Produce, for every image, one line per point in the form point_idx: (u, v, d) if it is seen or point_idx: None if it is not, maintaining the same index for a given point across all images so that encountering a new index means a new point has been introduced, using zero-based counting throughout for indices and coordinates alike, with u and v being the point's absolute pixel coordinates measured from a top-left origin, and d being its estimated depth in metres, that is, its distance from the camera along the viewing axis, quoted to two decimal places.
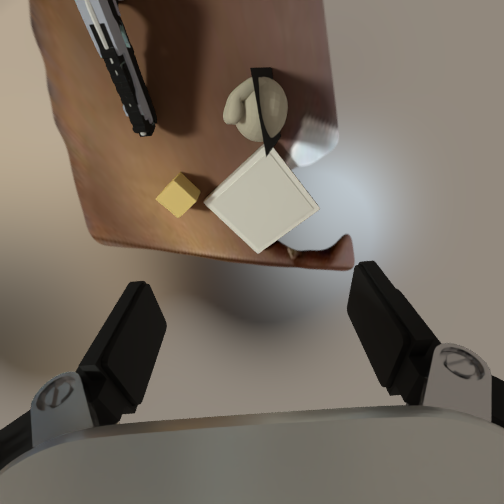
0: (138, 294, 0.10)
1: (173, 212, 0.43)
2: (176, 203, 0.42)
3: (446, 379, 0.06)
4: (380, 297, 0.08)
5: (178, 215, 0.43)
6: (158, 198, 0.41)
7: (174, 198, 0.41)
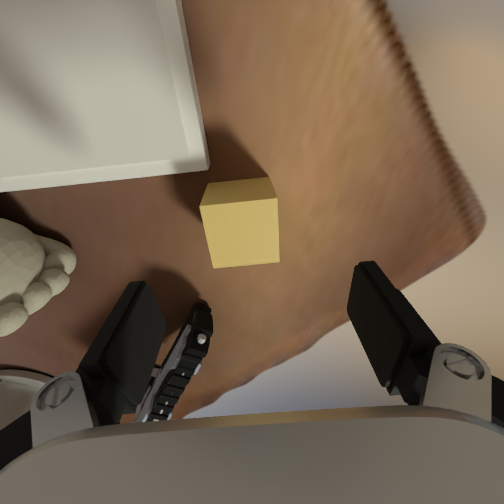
0: (138, 294, 0.10)
1: (273, 217, 0.16)
2: (246, 230, 0.16)
3: (446, 379, 0.06)
4: (380, 297, 0.08)
5: (269, 204, 0.15)
6: (272, 259, 0.18)
7: (242, 241, 0.17)
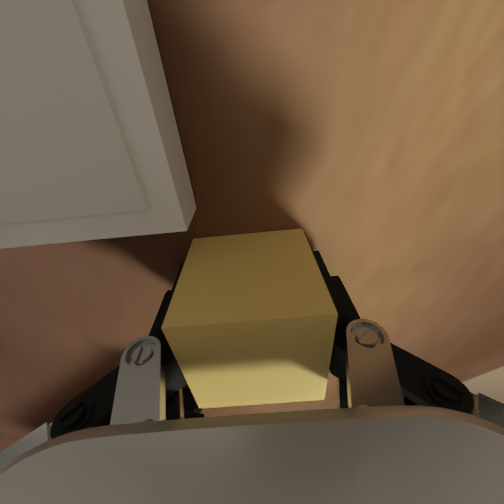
0: None
1: (323, 343, 0.07)
2: (265, 361, 0.08)
3: (360, 354, 0.07)
4: None
5: (319, 324, 0.07)
6: (312, 398, 0.09)
7: (255, 376, 0.08)
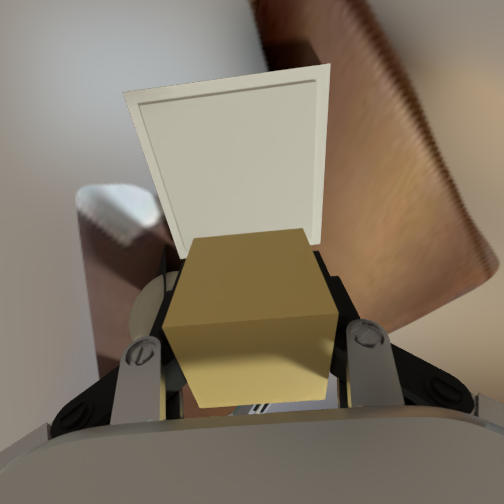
0: None
1: (324, 343, 0.07)
2: (265, 361, 0.08)
3: (360, 354, 0.07)
4: None
5: (319, 323, 0.07)
6: (312, 397, 0.09)
7: (256, 375, 0.08)
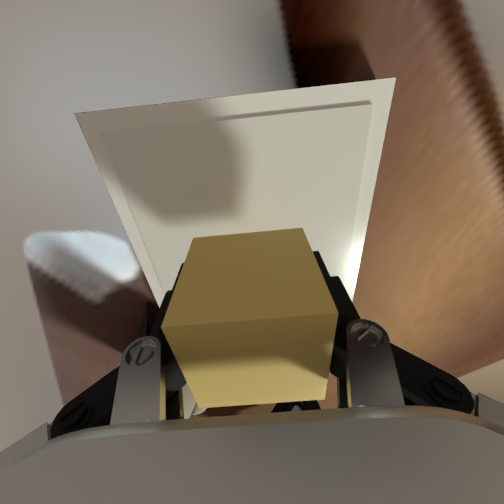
0: None
1: (324, 343, 0.07)
2: (265, 361, 0.08)
3: (360, 354, 0.07)
4: None
5: (319, 323, 0.07)
6: (312, 398, 0.09)
7: (255, 375, 0.08)
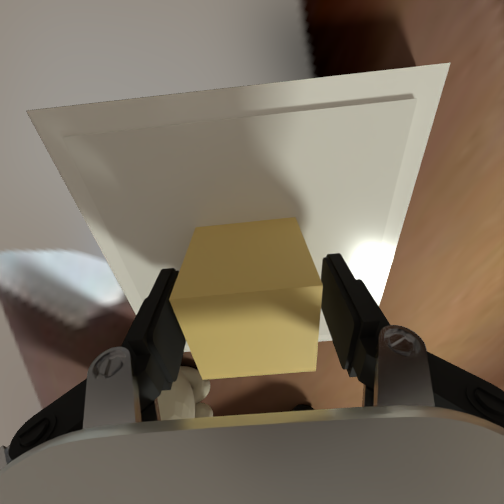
0: (171, 279, 0.10)
1: (312, 314, 0.08)
2: (260, 332, 0.09)
3: (392, 360, 0.07)
4: (340, 285, 0.09)
5: (306, 295, 0.08)
6: (304, 369, 0.10)
7: (252, 346, 0.09)
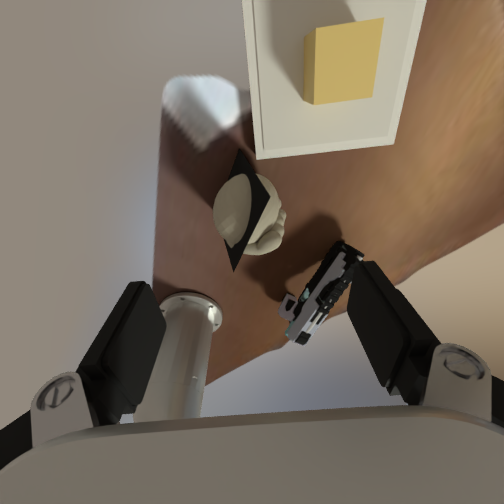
0: (138, 294, 0.10)
1: (376, 41, 0.18)
2: (350, 57, 0.19)
3: (446, 379, 0.06)
4: (380, 297, 0.08)
5: (376, 25, 0.18)
6: (366, 94, 0.20)
7: (344, 71, 0.19)
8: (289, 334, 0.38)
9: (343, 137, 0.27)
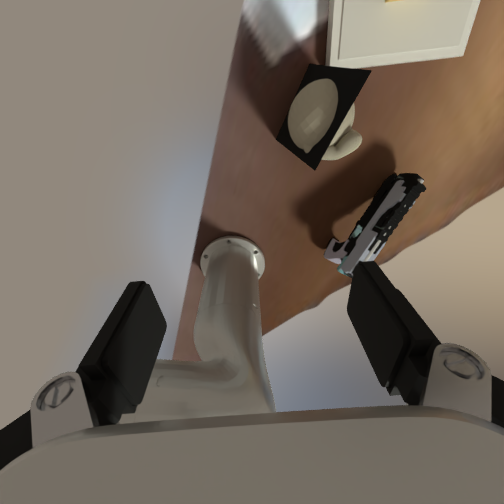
0: (138, 294, 0.10)
1: None
2: None
3: (446, 379, 0.06)
4: (380, 297, 0.08)
5: None
6: None
7: None
8: (343, 268, 0.38)
9: (417, 46, 0.28)
